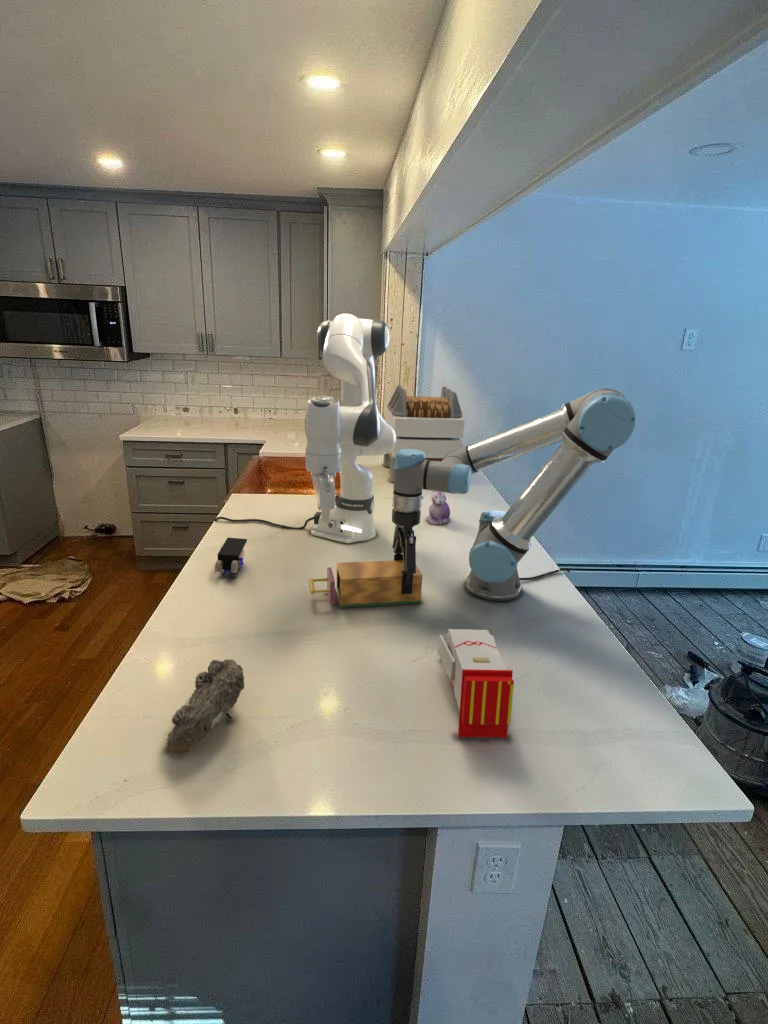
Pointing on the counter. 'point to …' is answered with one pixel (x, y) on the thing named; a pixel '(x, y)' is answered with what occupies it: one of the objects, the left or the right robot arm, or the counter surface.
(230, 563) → the figurine character
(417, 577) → the wooden box
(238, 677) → the fossil
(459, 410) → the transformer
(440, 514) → the figurine
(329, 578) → the drawer
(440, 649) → the toy
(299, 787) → the counter surface
